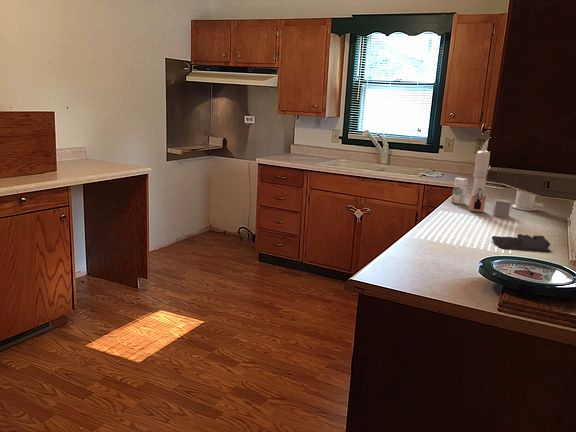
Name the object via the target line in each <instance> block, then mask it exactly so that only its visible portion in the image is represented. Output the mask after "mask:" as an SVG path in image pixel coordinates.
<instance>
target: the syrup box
mask: <svg viewBox="0 0 576 432" xmlns="http://www.w3.org/2000/svg"><path fill="white" fill-rule="evenodd" d="M468 182H469V179H468V178H464V177H455V178H454V183H453V187H452V189H453V190H452V194H451V204H456V205H463V204H465V203H466V196H467V195H466V194H467V190H468V189H467V188H468Z"/></svg>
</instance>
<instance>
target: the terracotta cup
mask: <svg viewBox="0 0 576 432" xmlns="http://www.w3.org/2000/svg"><path fill="white" fill-rule="evenodd" d="M477 196H478V195H477ZM486 198H487V197H486V195H485V194H483V197H482V198H481V208H480V209H474V204H475V201H476V196H473V194H472V192H471V193H470V197H469V204H468V210H469V211H471V212H481V213H484V211H485V205H486Z"/></svg>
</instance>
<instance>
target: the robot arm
mask: <svg viewBox="0 0 576 432" xmlns="http://www.w3.org/2000/svg"><path fill="white" fill-rule="evenodd" d="M488 140H489V138H488V139H486V141H485V142H484V144H483V146H482V147H481V149H480V150H478V151H477V152H476V155H475V162H474V163H475V164H474V171H473V175H472V176H473V178H474V180H473V187H472V192H471V193H472V194H473V196H476V201H475V204H474V209H480V208H481V198H482V197H483V195H485V194H484V193H485V189H486V188H485V187H486V182H487V179H486V173H487V169H488V163H489V152H488V151H487V146H488ZM477 195H478V196H477ZM535 199H536V195H532V194H528V193H525V192H522V191H518V189H517V192H516V196H515V202H514V203H513V204H511V208H513V209H517V210H520V211H529V212H530V211H531V212H532V211H536V210H537V207H538V208H544V204H543V203H539V202H536V201H535Z"/></svg>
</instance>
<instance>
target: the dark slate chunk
mask: <svg viewBox="0 0 576 432" xmlns="http://www.w3.org/2000/svg"><path fill="white" fill-rule="evenodd" d="M516 236H517V237H514V236H500V235H499V236H497V235H493V236H491V240H492V241H493V242H494V243H495V245H497V247H498V248H499V249H503V250H506V251H519V252H534V253H536V252H537V253H546V254H547V253H551V252H552V250H550V249H549V246H551V243H550V241H549V240H547V239H546V238H545V236H544V235H532V236H530V235H528V234H521V233H518V234H517V235H516Z"/></svg>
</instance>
